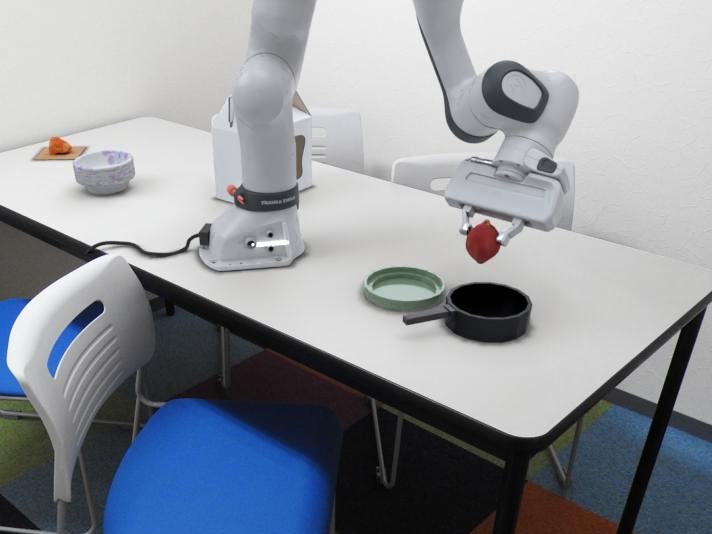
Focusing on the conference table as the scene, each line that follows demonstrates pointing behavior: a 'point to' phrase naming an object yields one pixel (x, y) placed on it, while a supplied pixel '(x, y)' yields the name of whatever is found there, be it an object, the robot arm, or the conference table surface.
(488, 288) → the pan
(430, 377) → the conference table surface
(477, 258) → the onion
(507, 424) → the conference table surface
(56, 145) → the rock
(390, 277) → the plate
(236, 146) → the gable box
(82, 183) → the paper bowls
